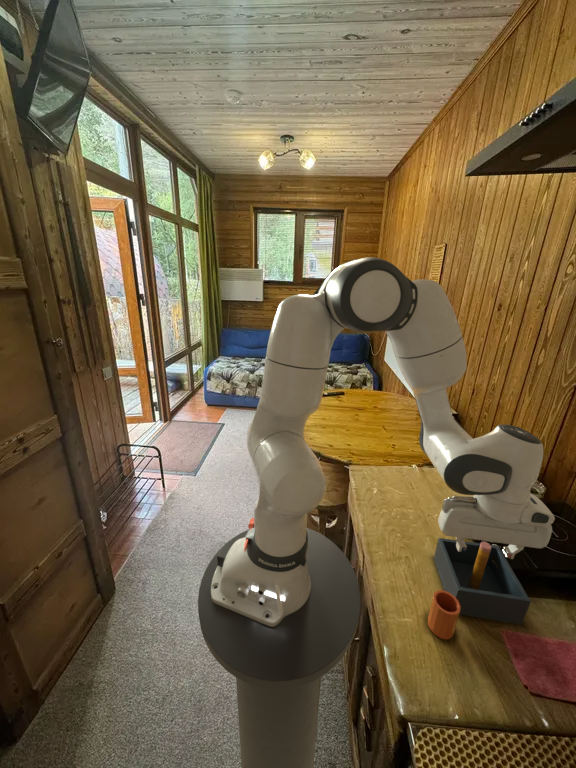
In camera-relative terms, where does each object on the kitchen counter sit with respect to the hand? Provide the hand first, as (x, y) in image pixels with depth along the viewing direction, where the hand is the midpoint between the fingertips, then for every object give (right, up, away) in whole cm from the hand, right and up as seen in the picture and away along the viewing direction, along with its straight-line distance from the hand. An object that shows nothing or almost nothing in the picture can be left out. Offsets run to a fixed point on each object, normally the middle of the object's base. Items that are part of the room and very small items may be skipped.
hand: (483, 552), depth 67 cm
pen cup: (-12, -13, -4) cm, 18 cm away
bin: (0, -10, +4) cm, 11 cm away
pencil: (0, -9, +3) cm, 10 cm away
